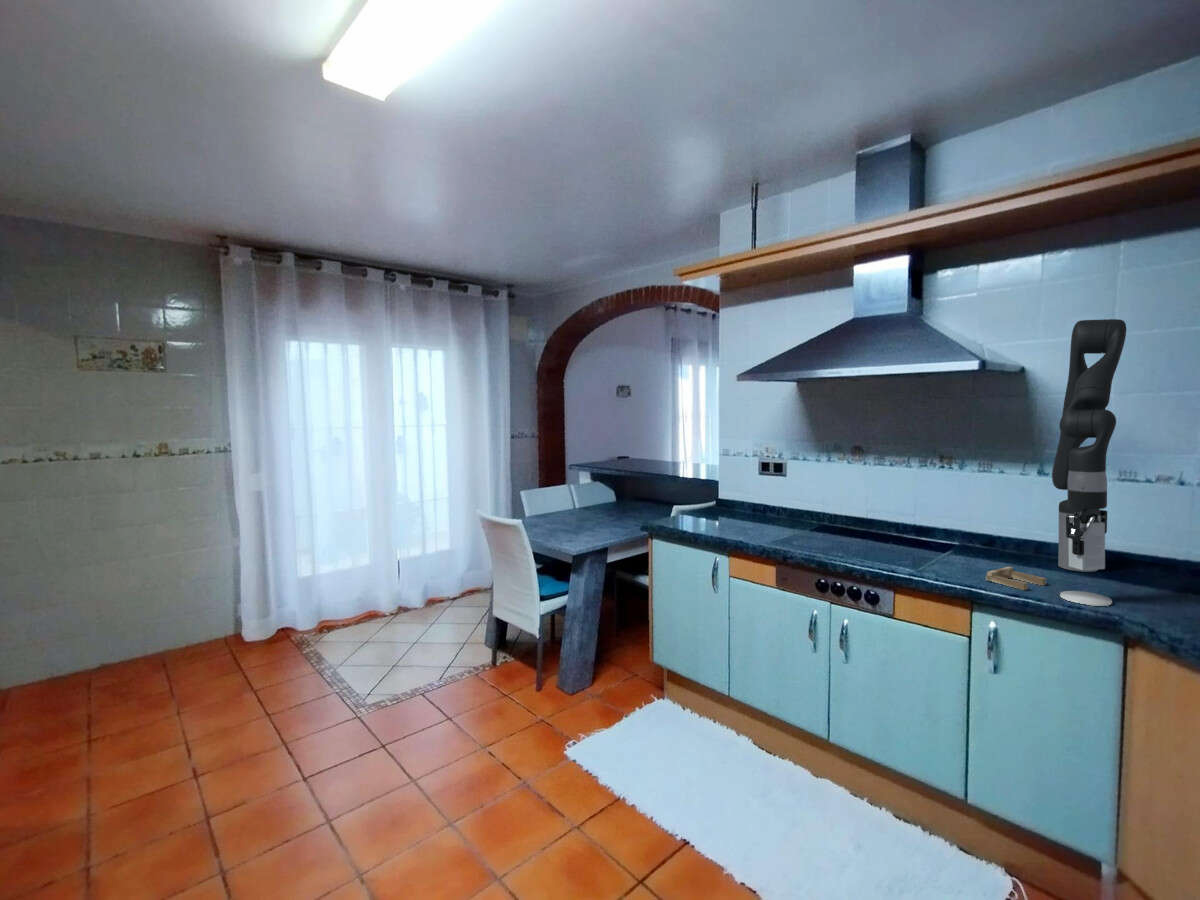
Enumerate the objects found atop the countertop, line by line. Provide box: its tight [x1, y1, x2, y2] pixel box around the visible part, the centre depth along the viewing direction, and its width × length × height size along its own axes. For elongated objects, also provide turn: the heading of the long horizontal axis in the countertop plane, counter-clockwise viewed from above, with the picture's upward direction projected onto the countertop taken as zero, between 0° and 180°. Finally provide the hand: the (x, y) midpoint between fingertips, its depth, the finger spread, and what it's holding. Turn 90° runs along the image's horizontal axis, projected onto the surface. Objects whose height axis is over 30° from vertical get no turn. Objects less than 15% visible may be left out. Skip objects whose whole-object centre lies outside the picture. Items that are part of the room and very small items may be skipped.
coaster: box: [1059, 590, 1113, 607], centre depth 141 cm, size 10×10×1 cm
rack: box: [985, 566, 1047, 591], centre depth 156 cm, size 10×10×3 cm
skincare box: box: [1069, 522, 1106, 570], centre depth 140 cm, size 6×4×12 cm
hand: (1086, 552), depth 140 cm, fingers closed on skincare box, 7 cm apart
